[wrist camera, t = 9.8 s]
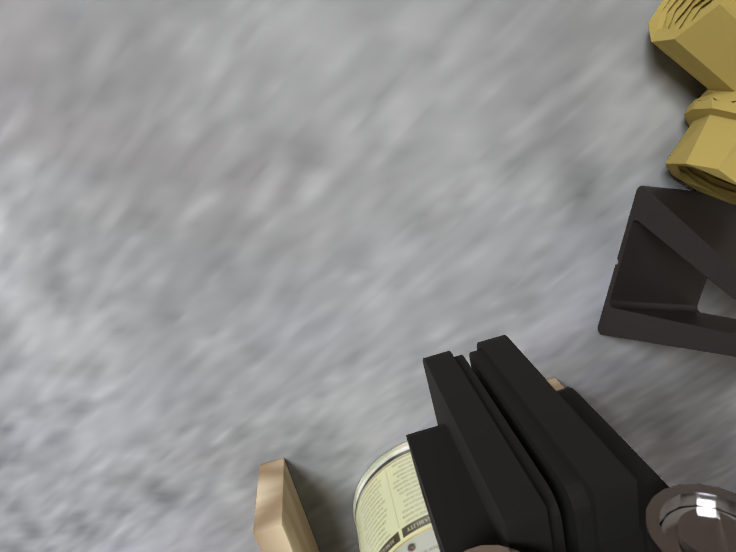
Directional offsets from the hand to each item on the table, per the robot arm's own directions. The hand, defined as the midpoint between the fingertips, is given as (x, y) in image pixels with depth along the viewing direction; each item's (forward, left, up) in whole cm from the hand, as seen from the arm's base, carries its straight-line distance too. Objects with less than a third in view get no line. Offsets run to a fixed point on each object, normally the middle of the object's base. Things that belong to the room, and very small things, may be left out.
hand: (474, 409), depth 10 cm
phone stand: (-17, +7, -17) cm, 25 cm away
